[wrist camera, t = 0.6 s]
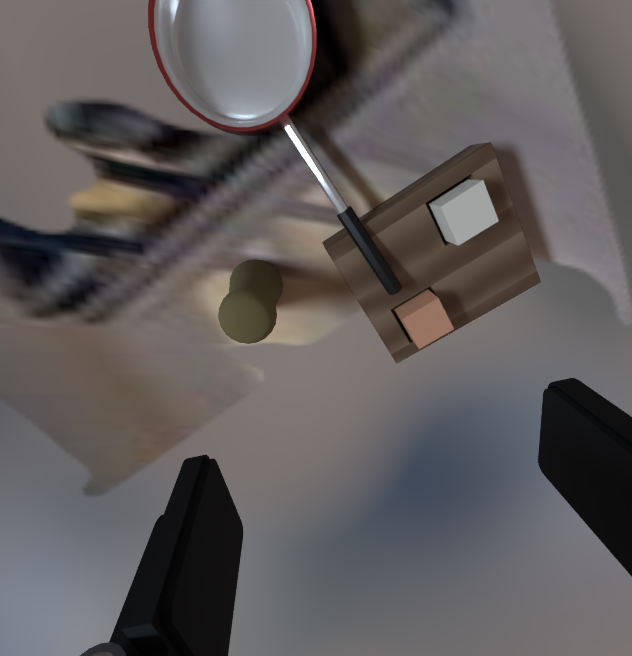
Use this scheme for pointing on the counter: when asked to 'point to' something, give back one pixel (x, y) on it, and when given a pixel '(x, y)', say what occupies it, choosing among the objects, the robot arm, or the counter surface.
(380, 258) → the frying pan
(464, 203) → the cream key
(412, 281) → the brown wooden flat board
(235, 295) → the olive brown rounded cylinder
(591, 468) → the robot arm
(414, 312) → the terracotta key
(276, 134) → the counter surface
